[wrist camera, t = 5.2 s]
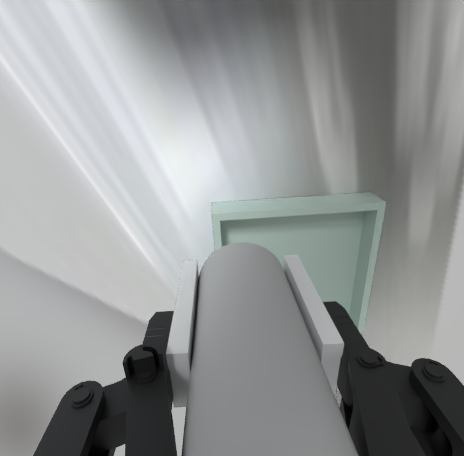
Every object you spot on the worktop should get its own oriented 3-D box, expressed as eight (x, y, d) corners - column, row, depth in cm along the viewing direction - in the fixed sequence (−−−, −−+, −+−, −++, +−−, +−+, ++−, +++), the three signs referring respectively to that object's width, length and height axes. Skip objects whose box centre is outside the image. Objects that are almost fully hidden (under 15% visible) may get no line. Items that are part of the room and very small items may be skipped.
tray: (211, 202, 33) (211, 214, 30) (370, 192, 34) (386, 202, 31) (222, 326, 41) (222, 345, 38) (351, 316, 41) (362, 334, 38)
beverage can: (298, 277, 17) (442, 584, 6) (235, 322, 18) (266, 651, 7) (245, 220, 16) (319, 500, 5) (180, 273, 17) (117, 601, 6)
